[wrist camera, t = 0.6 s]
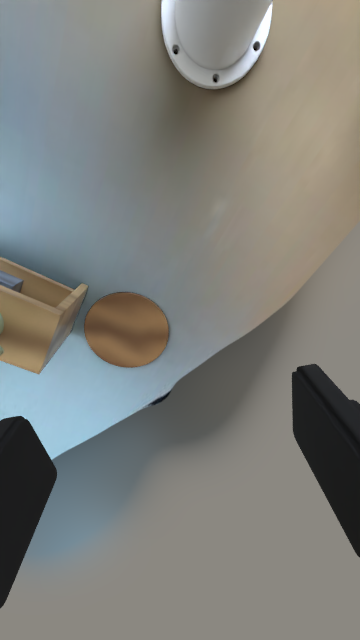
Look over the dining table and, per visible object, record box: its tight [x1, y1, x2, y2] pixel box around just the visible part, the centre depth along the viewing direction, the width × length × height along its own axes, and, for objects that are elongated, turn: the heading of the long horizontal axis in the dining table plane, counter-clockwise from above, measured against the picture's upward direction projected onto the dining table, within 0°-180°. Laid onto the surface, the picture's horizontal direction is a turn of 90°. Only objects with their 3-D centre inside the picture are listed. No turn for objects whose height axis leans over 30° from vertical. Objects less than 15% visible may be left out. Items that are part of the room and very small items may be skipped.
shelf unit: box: [0, 257, 88, 374], centre depth 38 cm, size 10×18×12 cm, turn 62°
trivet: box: [84, 292, 169, 367], centre depth 47 cm, size 15×15×1 cm
